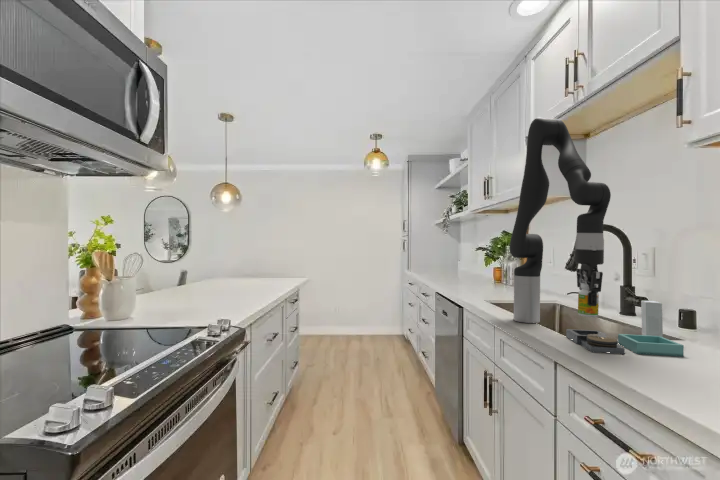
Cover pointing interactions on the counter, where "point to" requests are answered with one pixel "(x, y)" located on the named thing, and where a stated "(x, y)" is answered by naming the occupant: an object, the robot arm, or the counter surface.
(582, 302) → the supplement bottle
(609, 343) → the bracket
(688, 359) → the counter surface
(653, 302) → the skincare box
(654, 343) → the tray
